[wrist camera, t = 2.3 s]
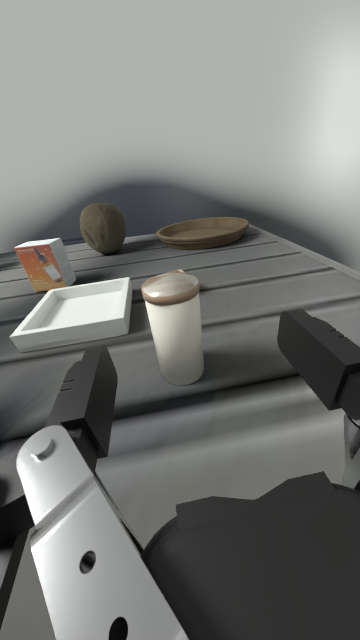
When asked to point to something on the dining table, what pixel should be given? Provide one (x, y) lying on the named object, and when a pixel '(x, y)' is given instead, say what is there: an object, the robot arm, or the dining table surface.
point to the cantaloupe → (103, 227)
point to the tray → (77, 315)
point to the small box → (46, 264)
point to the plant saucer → (203, 233)
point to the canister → (176, 325)
